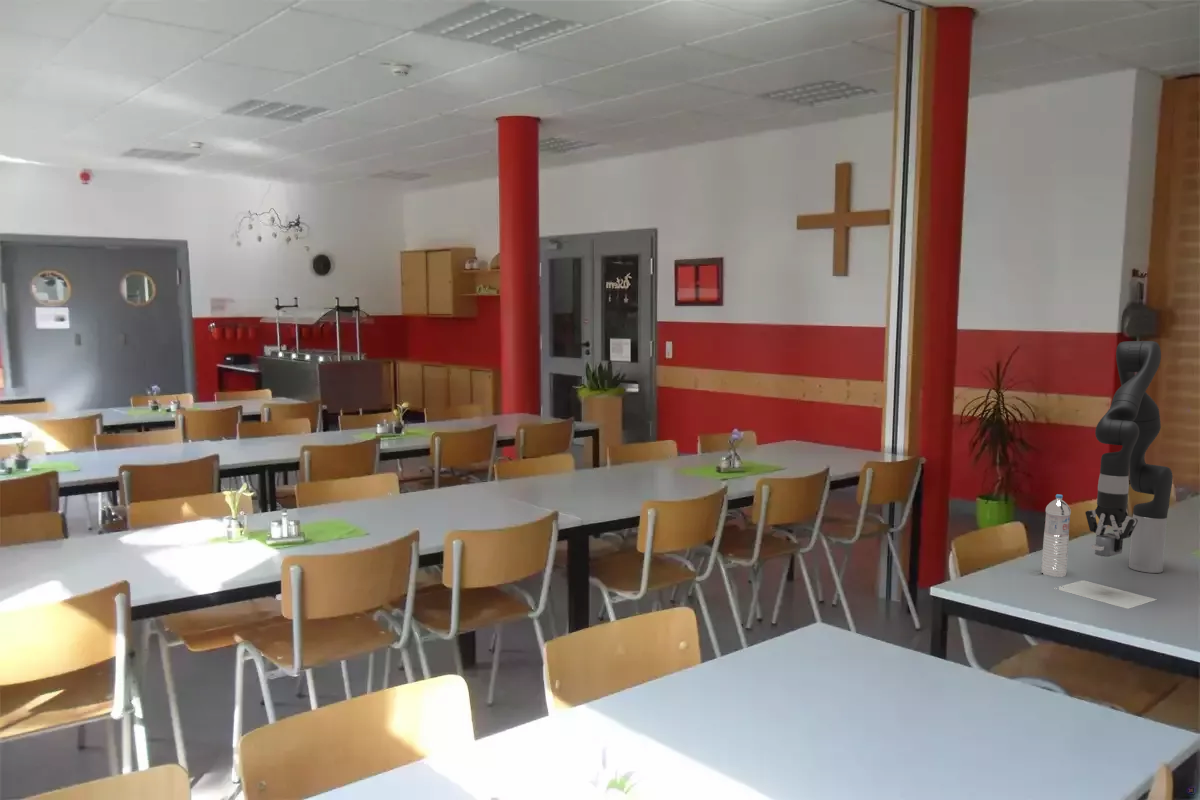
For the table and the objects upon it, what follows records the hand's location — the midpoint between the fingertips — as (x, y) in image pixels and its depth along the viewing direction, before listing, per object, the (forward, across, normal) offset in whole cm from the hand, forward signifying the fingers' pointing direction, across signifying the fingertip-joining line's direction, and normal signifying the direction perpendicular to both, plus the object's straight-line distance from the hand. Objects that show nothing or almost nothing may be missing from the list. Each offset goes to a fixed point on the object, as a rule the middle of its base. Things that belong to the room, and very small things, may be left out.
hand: (1108, 549), depth 261 cm
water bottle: (+14, +19, -6) cm, 24 cm away
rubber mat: (+13, 0, +1) cm, 13 cm away
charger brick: (+1, 0, 0) cm, 1 cm away
